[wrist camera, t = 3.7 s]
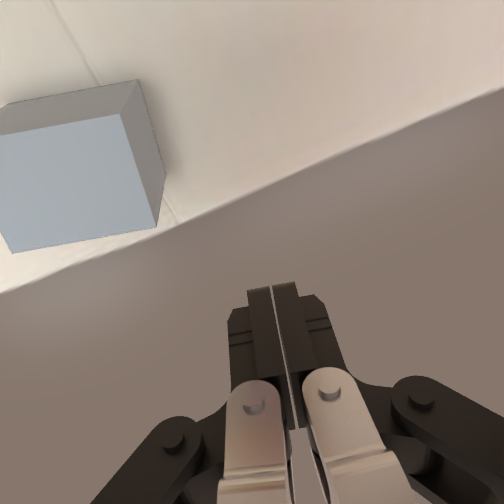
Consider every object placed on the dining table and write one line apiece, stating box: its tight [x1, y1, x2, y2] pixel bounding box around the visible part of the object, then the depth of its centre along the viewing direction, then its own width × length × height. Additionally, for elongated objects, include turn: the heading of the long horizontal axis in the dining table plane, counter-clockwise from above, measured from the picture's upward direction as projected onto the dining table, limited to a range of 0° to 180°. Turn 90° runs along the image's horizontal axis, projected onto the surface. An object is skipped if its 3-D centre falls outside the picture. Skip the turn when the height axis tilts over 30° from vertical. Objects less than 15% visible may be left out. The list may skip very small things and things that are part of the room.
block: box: [0, 79, 166, 254], centre depth 28 cm, size 7×9×8 cm
